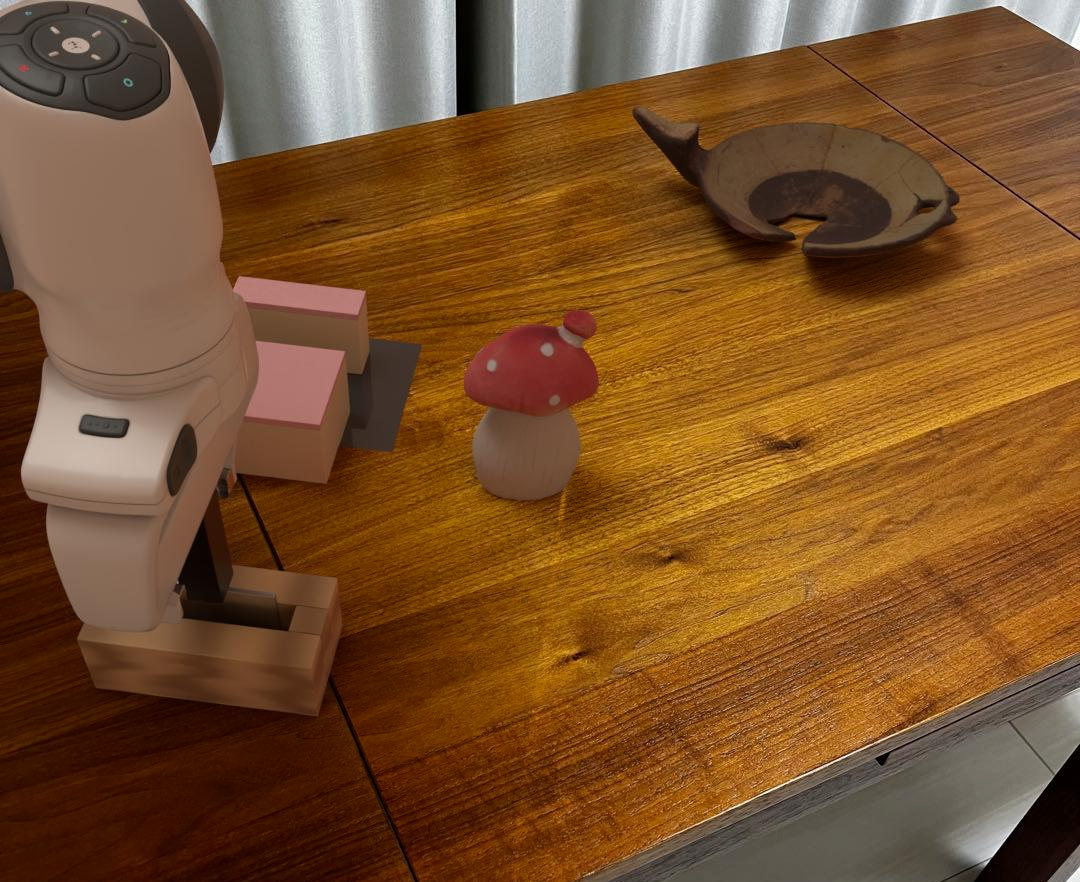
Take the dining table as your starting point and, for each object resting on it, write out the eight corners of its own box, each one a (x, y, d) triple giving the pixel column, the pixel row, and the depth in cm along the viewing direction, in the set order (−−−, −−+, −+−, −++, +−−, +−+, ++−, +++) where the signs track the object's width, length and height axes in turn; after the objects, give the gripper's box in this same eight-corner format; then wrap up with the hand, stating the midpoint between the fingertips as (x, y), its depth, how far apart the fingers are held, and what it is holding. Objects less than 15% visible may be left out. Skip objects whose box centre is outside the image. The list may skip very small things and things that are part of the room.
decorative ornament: (587, 453, 91) (607, 294, 80) (585, 516, 87) (606, 357, 76) (466, 444, 91) (469, 283, 80) (458, 506, 87) (460, 346, 76)
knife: (157, 663, 75) (106, 500, 64) (169, 633, 77) (121, 469, 66) (282, 679, 75) (253, 518, 64) (291, 648, 77) (264, 486, 65)
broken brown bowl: (869, 332, 103) (894, 258, 98) (595, 196, 115) (603, 123, 109) (980, 225, 116) (1008, 154, 110) (722, 112, 127) (735, 42, 121)
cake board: (134, 479, 87) (132, 471, 86) (207, 325, 99) (206, 318, 98) (378, 509, 86) (378, 501, 86) (422, 351, 98) (422, 343, 98)
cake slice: (238, 360, 95) (227, 299, 91) (248, 336, 97) (238, 275, 93) (362, 375, 95) (357, 314, 90) (369, 351, 97) (366, 290, 92)
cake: (191, 468, 87) (177, 407, 82) (222, 396, 92) (211, 335, 88) (326, 485, 87) (320, 424, 82) (350, 411, 92) (345, 350, 87)
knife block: (98, 696, 75) (75, 639, 70) (135, 609, 79) (117, 550, 75) (319, 724, 74) (310, 669, 70) (343, 635, 79) (337, 577, 74)
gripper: (156, 231, 65) (196, 419, 75) (2, 503, 51) (77, 686, 62) (271, 245, 65) (295, 431, 75) (146, 521, 51) (197, 701, 61)
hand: (196, 548), depth 68 cm, fingers open, 8 cm apart
